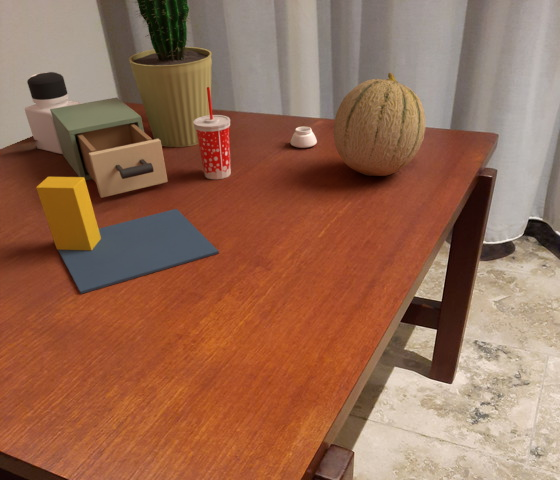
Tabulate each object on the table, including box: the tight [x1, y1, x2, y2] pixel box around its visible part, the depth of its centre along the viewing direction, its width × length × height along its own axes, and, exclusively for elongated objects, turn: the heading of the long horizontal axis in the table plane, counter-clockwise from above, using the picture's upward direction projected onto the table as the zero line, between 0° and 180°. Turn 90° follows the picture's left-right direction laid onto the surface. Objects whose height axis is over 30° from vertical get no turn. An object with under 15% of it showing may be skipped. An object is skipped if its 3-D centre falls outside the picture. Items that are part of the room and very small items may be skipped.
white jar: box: [289, 126, 318, 149], centre depth 106 cm, size 5×3×5 cm
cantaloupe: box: [333, 72, 426, 177], centre depth 90 cm, size 15×15×15 cm
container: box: [24, 71, 82, 155], centre depth 107 cm, size 8×8×13 cm
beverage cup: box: [193, 87, 232, 180], centre depth 93 cm, size 6×6×14 cm
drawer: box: [75, 123, 169, 198], centre depth 92 cm, size 18×11×7 cm, turn 29°
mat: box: [53, 208, 220, 295], centre depth 78 cm, size 19×16×1 cm
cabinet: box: [50, 97, 145, 181], centre depth 101 cm, size 15×13×9 cm
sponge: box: [36, 176, 101, 251], centre depth 76 cm, size 4×5×9 cm
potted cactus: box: [128, 0, 213, 148], centre depth 103 cm, size 15×15×30 cm
